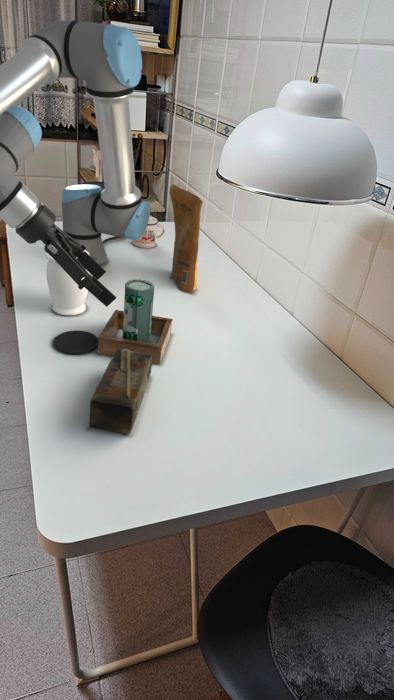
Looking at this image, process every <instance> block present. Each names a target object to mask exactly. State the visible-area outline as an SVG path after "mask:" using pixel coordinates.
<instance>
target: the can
mask: <svg viewBox="0 0 394 700" xmlns="http://www.w3.org/2000/svg"><path fill="white" fill-rule="evenodd" d="M154 296H155V285H154V283H153V282H151V281H148V280H145V279H141V278H140V279H139V278H138V279H131V280H130V279H129V280H127V281H126V282H125V283H124V298H123V299H124V300H123V311H124V321H123V329H122V339H128V340H134V341H140V342H146V343H151V339H152V336H151V335H152V334H151V325H152V316H153V311H154V310H153V309H154V299H155V298H154Z"/></svg>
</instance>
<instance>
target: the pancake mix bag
mask: <svg viewBox="0 0 394 700" xmlns="http://www.w3.org/2000/svg"><path fill="white" fill-rule="evenodd" d="M169 196H170V200H171V204H172V214H173V223H174V243H173V254H172V267H171V274H170V279H172V280H173V281H174V283H175V284H176V285H177V286H178V288H179V290H180V291H182V292H184V293H189V294H194V291H196V289H197V278H198V253H199V240H200V239H199V237H200V228H201V227H200V226H201V215H202V214H201V213H202V206H203V200H202V199H201V198H200V197H199V196H198V195H196V194H194V193H192V192H190V191H188V190H187V189H184V188H181V187H179V186H177V185H176V184H174V183H172V184H171V185H170V186H169Z"/></svg>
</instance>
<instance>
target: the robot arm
mask: <svg viewBox="0 0 394 700" xmlns="http://www.w3.org/2000/svg"><path fill="white" fill-rule="evenodd" d="M142 70H143V59H142V50H141V47H140V44H139V40H138V39H137V37H136V36H135V35H134V33H133V32H132V30H131V29H129V28H127V27H124V26H119V25H116V24H113V23H102V22H90V21H81V20H74V19H65V20H60V21H57V22H53V23H51V24H49V25H47V26H45V27H42V28H41V29H39V30H38V31H36V32H34V33H32V34H31V35H30V36H29V37H27V38H26V39H24V40H23V41H22V43H21V45H20V49H19V51H17V52H16V53H15V54H14V55H12V56H11V57H9V58H8V59H7V60H6V61H4V62H3V63H2V64H1V65H0V222H4V224H6V225H7V226H8V227H9V228H11V229H14V230H15V233H16V234H17V235H18V236H19V237H21V239H22V240H24V241H25V242H26V243H27V244H30V245H33V244H35V243H37V242H38V241H39V242H40V241H41V242H42V243H43V244H44V246H43V247H44V248H43V250H44V252H45V254H46V253H48V254H49V255H50V256H51V257H52V258H53V259H54V260H55V261H56V262H57V263H58V264H59V265H60V266H61V267H62V268H63V269H64V271H65V272H66V273H67V274H68V275H69V276H70V277H71V278H72V279H73V280H74V281H75V282H76V283H77V285H78V288H79V289H80V290H81V289H83V288H84V287H85V288H86V289H87V290H88V293H90V294H91V295H92V296H93V297H95V298H96V299H97V300H98V301H99V302H100V303H102V304H103V305H104V306H105V308H107V307H108V306H109V305H111V304H112V303H113V302H114V301H116V299H117V297H116V295H115V294H114V293H112V291H110V290H109V289H108V288H107V287H106V286H105V285H104V284H103V283H102V282H100V279H101V278H102V277H103V276H104V275H105V274H106V273H107V271H106V269H104V267H102V266H104V265H106V264H107V261H108V257H107V256H108V255H107V252H106V248H105V245H104V244H105V243H108V242H109V241H114V240H118V239H121V238H122V239H123V240H131V241H132V240H137V239H139V238H140V237H141V236H142V235H143V233H144V232H145V229H146V227H147V224H148V221H149V216H150V215H151V205H150V203H149V202H148V201H146V200H143V199H142V191H141V189H140V188H138V187H137V186H136V174H135V163H134V152H133V151H134V149H133V148H134V147H133V137H132V136H133V135H132V124H131V123H132V122H131V111H130V110H131V109H130V97H131V96H132V95H133V94H134V93H135V88H136V86H138V85H139V83H140V81H141V78H142ZM64 78H65V79H68V78H69V79H76V80H81V81H84V85H85V92H86V95H88V96H90V98H91V99H93V104H94V115H95V122H96V129H97V136H98V137H97V138H98V145H99V152H100V159H101V169H102V175H103V184H104V188H103V189H102V186H101V185H99V184H91V183H90V184H87V183H85V184H84V183H83V184H74V185H69V186H67V187H65V188H64V189H62V193H61V215H62V216H61V217H62V219H61V220H62V229H61V228H60V227H58V225H56V224H55V222H56V221H57V220H56V219H57V216H56V214H55V213H54V212H53V211H52V210H51V209H50V208H49V207H48V206H46V204H45V203H42V202H40V199H39V197H37V196H36V194H35V193H34V192H32V191H31V190H30V188H28V187H27V185H25V184H24V183H23V182H22V181H20V180H19V178H18V177H17V176H15V174H16V173H17V172H18V171H19V169H20V168H21V167H22V166H23V164H24V163H25V162H26V160H27V159H28V158H29V157H30V156H31V154H32V153H34V151H35V149H36V148H37V145H38V144H39V143H40V141H41V139H42V137H43V131H42V127H41V125H40V122H39V120H38V119H37V118H36V117H35V115H33V113H31V111H29V110H28V109H26V108H25V107H21V106H20V105H21V104H23V102H24V101H26V100H27V99H28V98H29V97H31V96H32V95H33V94H34V93H35V92H36V91H37V90H38V89H40V88H41V87H42V86H43V85H45V84H46V85H49V84H53V83H55V82H56V81H57V80H59V79H64ZM102 234H103V235H108V236H111V237H107V238H105V239H102ZM84 250H86V251H88V252H89V254H90V255H88V254H87V253H86V252H84V253H83V251H84ZM77 257H78V258H77ZM76 258H77V259H76ZM87 271H88V272H89V273H90V274H89V273H88V272H87ZM84 277H85V278H84ZM82 278H84V279H83V280H81V279H82Z"/></svg>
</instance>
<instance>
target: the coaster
mask: <svg viewBox="0 0 394 700" xmlns="http://www.w3.org/2000/svg"><path fill="white" fill-rule="evenodd" d="M53 347H54V348H55V350H56V351H59V352H60V353H63V354H65V355H71V356H80V355H81V356H83V355H86V354H87V355H88V354H90V353H92V352H94V351H95V350H97V349H98V336H97V335H95V334H93V333H92V332H89V331H86V330H68V331H64V332H61V333H59V334H58V335H56V336H55V337H54V339H53Z"/></svg>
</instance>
